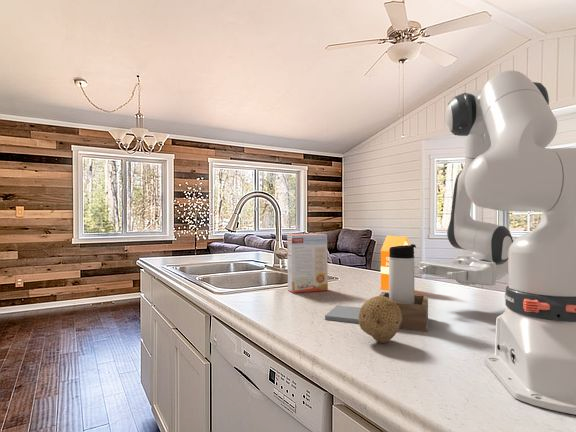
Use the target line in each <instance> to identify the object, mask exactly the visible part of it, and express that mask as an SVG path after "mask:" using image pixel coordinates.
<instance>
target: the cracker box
mask: <svg viewBox="0 0 576 432" xmlns="http://www.w3.org/2000/svg"><path fill="white" fill-rule="evenodd" d="M286 237H287V239H286V240H287V241H286V242H287V244H286V246H287V249H286V251H287V254H286V255H287V256H286V257H287V291H289V292H290V293H293V294H297V293H298V294H299V293H309V292H311V293H312V292H325V291H326V292H327V291H328V289H329V288H328V287H329V286H328V284H329V283H328V281H329V280H328V279H329V278H328V277H329V275H328V273H329V271H328V234H326V233H294V234H293V233H292V234H291V233H290V234H287V236H286Z"/></svg>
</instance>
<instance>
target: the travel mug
mask: <svg viewBox="0 0 576 432" xmlns="http://www.w3.org/2000/svg"><path fill="white" fill-rule="evenodd" d="M416 247H417V246H416V244H415V243H412V244H410V245H404V246H395V247H390V249H389V253H390V254H389V290H388V293H389V298H390V299H392V300H393V301H394V302H398V303H409V304H414V295H415V248H416Z"/></svg>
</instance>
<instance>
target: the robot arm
mask: <svg viewBox="0 0 576 432" xmlns="http://www.w3.org/2000/svg"><path fill="white" fill-rule="evenodd" d="M445 111H446V112H445V121H446V125H447V126H448V128H449V132H451V133H452V134H453V135H454V136H459V137H465V141H464V142H465V144H464V145H465V147H464V149H465V150H464V154H465V157H464V159H465V160H464V165H463V169H462V170H461V171H459V172H458V174H457V175H456V177H455V181H454V187H453V195H452V204H451V214H450V219H449V223H448V227H447V231H446V235H447V240H448V241H449V242H448V243H450V245H451V246H452V247H453V248H455V249H458V250H463V251H464V250H465V251H470V252H472V253H469V254H459V255H456V256H455V257H454V258H453V259H452V260H451V262H450V261H441V260H425V261H424V260H423V261H420V262H419V267H418V273H419V275H420V274H421V275H426V276H428V275H429V276H434V277H439V278H445V279H448V280H455V281H456V283H458V284H460V285H463V286H476V285H481V286H491V287H492V286H496V282H497V281H500V280H502V279H503V278H505V277H506V276H508V278H507V279H508V280H507V282H508V285H507V286H506V287H505V293H504V299H505V306H506V309H505V310H504V311H503V313H501V314H500V315H498V316H497V317H496V320H495V321H496V322H495V340H494V353H489V354H485V356H484V360H483V362H484V363H485V364H486V365H487V367H488V368H489V369H490V370H491V372H492V373H493V374H494V375H495V376H496V377H497V379H498V380H499V382H501V383H502V384H503V386H504V387H505V388H506V389H507V390H508V392H509V393H510V394H511V396H512V397H513V398H515V399H517V400H519V401H521V402H523V403H526V404H528V405H529V404H530V405H533V406H536V407H539V408H543V409H547V410H552V411H555V412H560V413H565V414H571V415H576V147H564V148H561V147H560V148H559V147H558V148H557V147H556V148H550V147H548V145H550V143H552V141H553V140H554V138H555V136H556V135H557V129H558V121H557V120H558V119H557V118H556V116H555V115H554V113H553V111H552V109H551V107H550V99H549V93H548V90H547V88H546V86H544V84H542V83H541V82H538V81H537V82H535V81H532V80H531V79H530V78H529V77H528V76H526V75H525V74H524V73H523V72H520V71H518V70H504V71H501V72H499V73H496V74H495V75H493V76H491V77H490V78H489V79H488V80H487V82H485V84H484V85H483V88H481V89H476V90H475V91H471V92H468V93H467V92H463V93H460V94H458V95H456V96H454V97H452V99H450V100H449V102H448V104H447V108H446V110H445ZM547 147H548V148H547ZM472 204H474V205H475V206H476V207H479V208H483V209H489V210H494V211H500V212H541V213H542V214H541V219H540V221H539V223H538V224H537V226H536V227H535V228H534V229H533V230H531V231H529V232H526V233H524V234H522V235H520V236H518V237H517V238H515V240H514V239H513V236H512V234H511V232H510V231H509V229H508V227H506V226H505V225H500V224H496V223H495V224H494V223H490V222H484V221H479V220H475V219H474V218H473V217H471V211H472V210H471V209H472Z"/></svg>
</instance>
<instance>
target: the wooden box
mask: <svg viewBox="0 0 576 432" xmlns="http://www.w3.org/2000/svg"><path fill="white" fill-rule="evenodd" d="M378 296H384V297H388V298H389V291H387V292H385V291H381V293H380V294H379V295H378ZM395 303H396V304H397V305H398V306H399V308H400V310H401V314H402V322H401V325H400V327H399V329H403V330H410V331H411V330H413V331H421V332H427V329H428V328H427V327H428V322H429V295H426V294H425V295H423V294H422V295H421V294H414V304H409V303H398V302H395Z"/></svg>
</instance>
